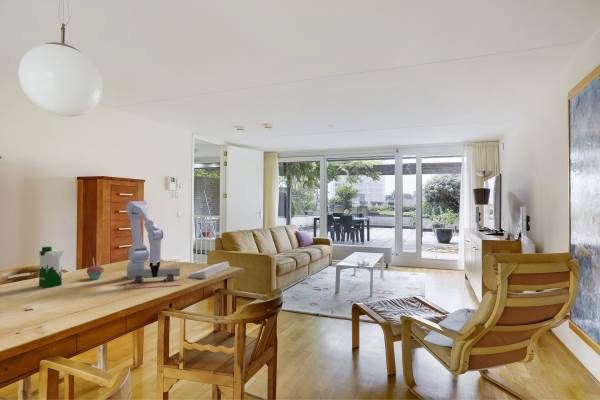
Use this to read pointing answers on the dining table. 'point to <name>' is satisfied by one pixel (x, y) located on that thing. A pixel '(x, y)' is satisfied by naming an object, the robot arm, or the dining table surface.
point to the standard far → (170, 278)
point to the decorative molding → (210, 270)
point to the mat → (153, 285)
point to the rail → (148, 274)
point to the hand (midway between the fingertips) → (154, 276)
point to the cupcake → (95, 271)
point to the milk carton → (50, 267)
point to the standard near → (138, 280)
